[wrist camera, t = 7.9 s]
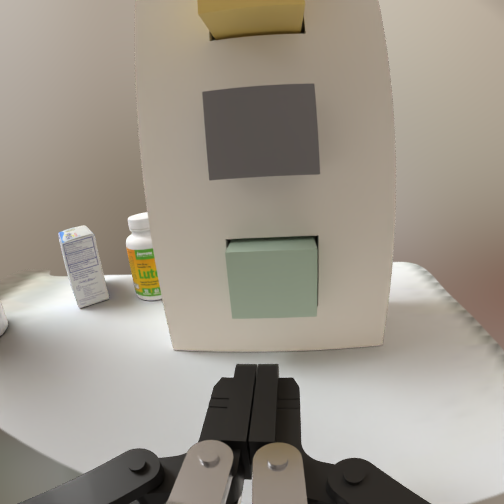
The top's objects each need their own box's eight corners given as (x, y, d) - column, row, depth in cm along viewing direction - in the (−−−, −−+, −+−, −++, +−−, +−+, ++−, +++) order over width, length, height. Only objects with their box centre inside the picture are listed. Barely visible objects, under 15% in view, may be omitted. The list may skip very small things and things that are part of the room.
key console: (173, 350, 27) (136, -24, 17) (195, 307, 34) (167, 8, 24) (382, 345, 25) (367, -44, 15) (362, 302, 32) (349, -6, 22)
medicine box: (110, 299, 37) (95, 232, 34) (78, 310, 35) (60, 242, 32) (98, 281, 43) (86, 224, 40) (71, 289, 41) (57, 231, 38)
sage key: (232, 318, 23) (225, 252, 21) (242, 281, 29) (238, 227, 27) (316, 316, 22) (317, 248, 20) (310, 279, 28) (309, 224, 27)
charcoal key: (209, 180, 17) (202, 91, 16) (228, 170, 23) (223, 105, 22) (320, 174, 17) (314, 83, 15) (309, 166, 23) (305, 100, 21)
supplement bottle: (140, 305, 35) (123, 223, 32) (133, 289, 40) (120, 216, 37) (183, 294, 38) (171, 214, 34) (172, 279, 42) (161, 208, 39)
